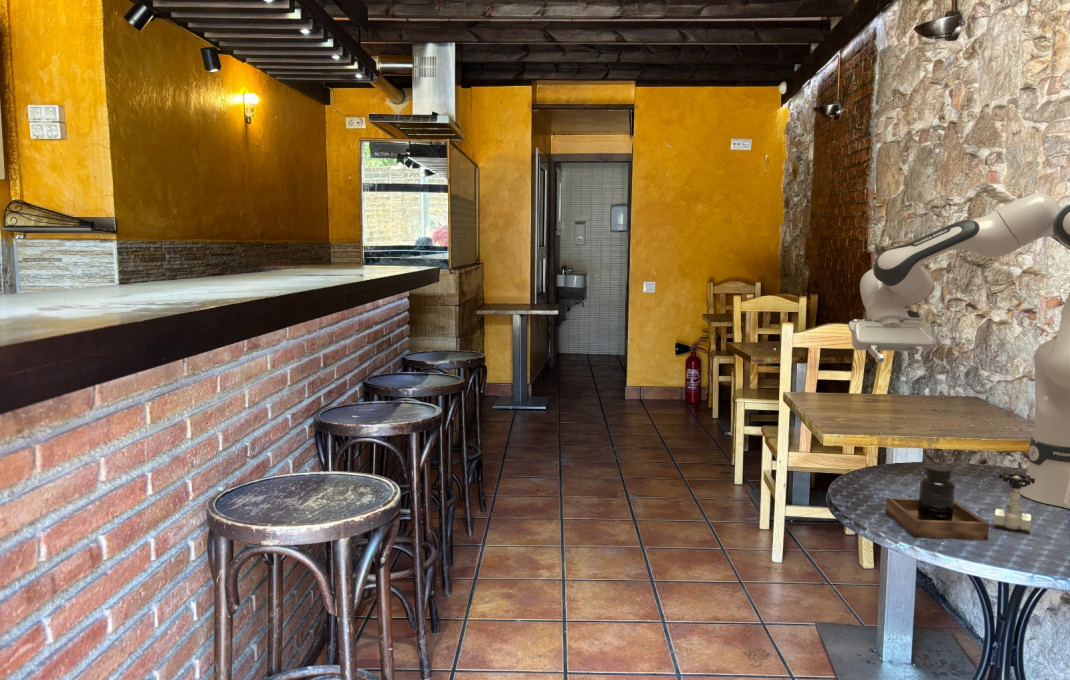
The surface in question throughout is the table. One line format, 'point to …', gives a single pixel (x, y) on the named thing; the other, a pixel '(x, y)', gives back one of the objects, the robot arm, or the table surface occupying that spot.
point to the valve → (1014, 504)
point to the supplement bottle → (936, 494)
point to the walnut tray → (959, 527)
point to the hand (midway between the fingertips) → (898, 361)
